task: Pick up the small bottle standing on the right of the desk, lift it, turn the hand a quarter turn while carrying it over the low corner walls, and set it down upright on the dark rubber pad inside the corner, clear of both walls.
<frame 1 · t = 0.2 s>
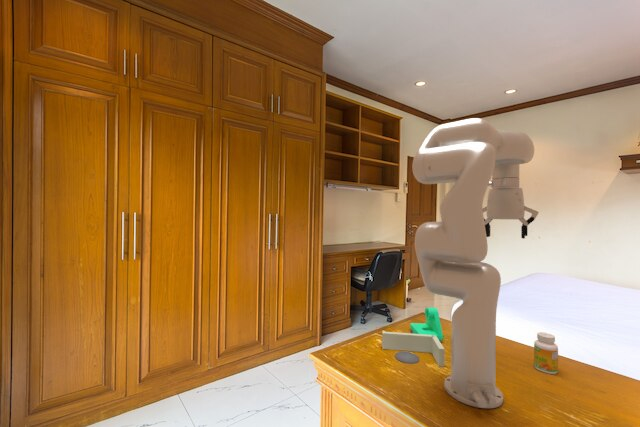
hand: (505, 237, 96), 36 cm above the table, tool pointing down, fingers open, 9 cm apart
camera mount: (425, 337, 107), on the table
supplement bottle: (545, 370, 84), on the table
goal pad: (407, 357, 89), on the table
corner walls: (410, 358, 89), on the table
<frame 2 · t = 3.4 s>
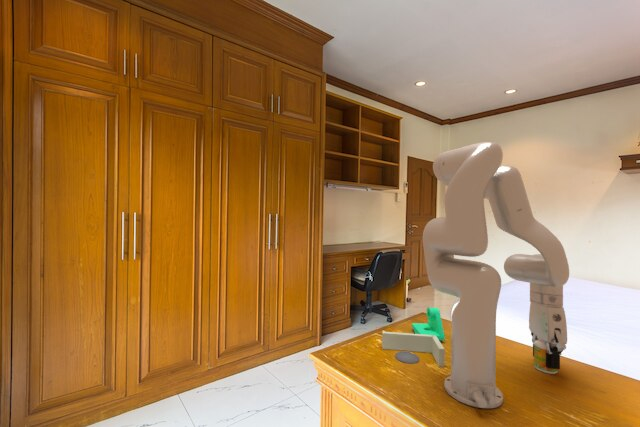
hand: (545, 362, 84), 2 cm above the table, tool pointing down, fingers closed on supplement bottle, 5 cm apart
supplement bottle: (545, 370, 84), on the table, touching gripper
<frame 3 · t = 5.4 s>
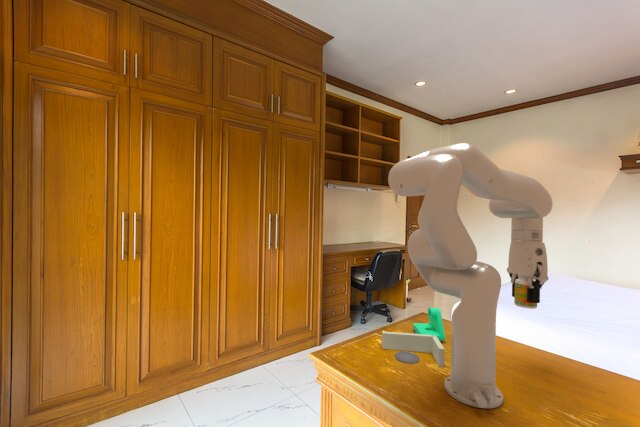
hand: (525, 299, 85), 19 cm above the table, tool pointing down, fingers closed on supplement bottle, 5 cm apart
supplement bottle: (525, 307, 85), point 17 cm above the table, touching gripper
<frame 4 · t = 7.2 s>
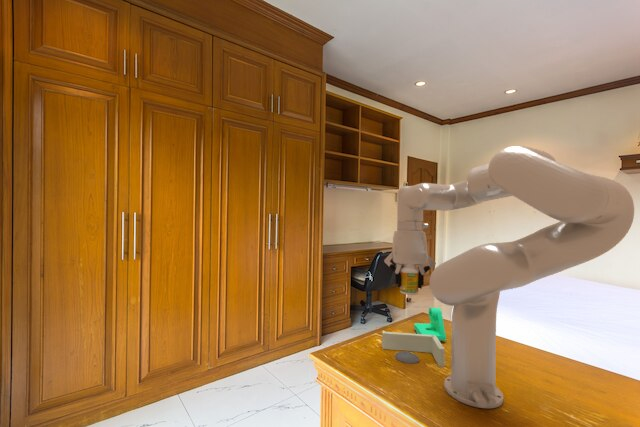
hand: (409, 286, 90), 21 cm above the table, tool pointing down, fingers closed on supplement bottle, 5 cm apart
supplement bottle: (408, 293, 90), point 19 cm above the table, touching gripper
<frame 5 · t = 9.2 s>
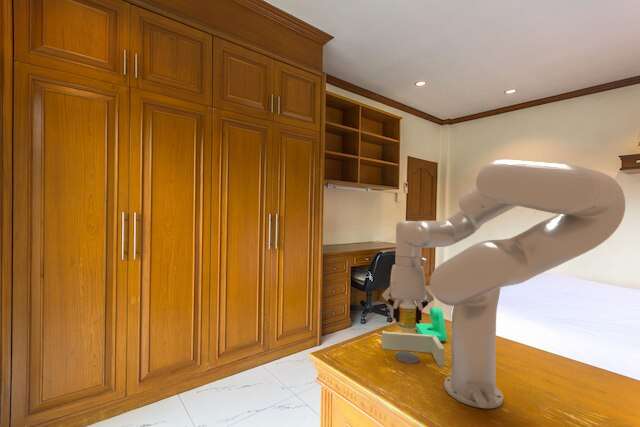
hand: (407, 321, 89), 11 cm above the table, tool pointing down, fingers closed on supplement bottle, 5 cm apart
supplement bottle: (406, 328, 90), point 9 cm above the table, touching gripper
when the fingers open (4 cm above the table, at t = 11.0 s): supplement bottle drops 2 cm, resting on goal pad.
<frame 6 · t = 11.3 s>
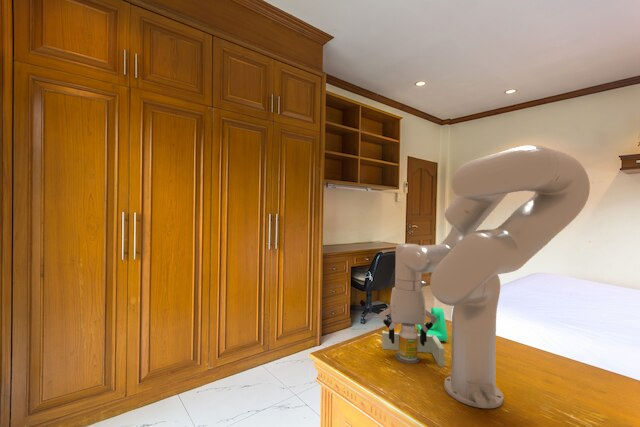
hand: (407, 342, 89), 5 cm above the table, tool pointing down, fingers open, 8 cm apart
supplement bottle: (407, 357, 89), resting on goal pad
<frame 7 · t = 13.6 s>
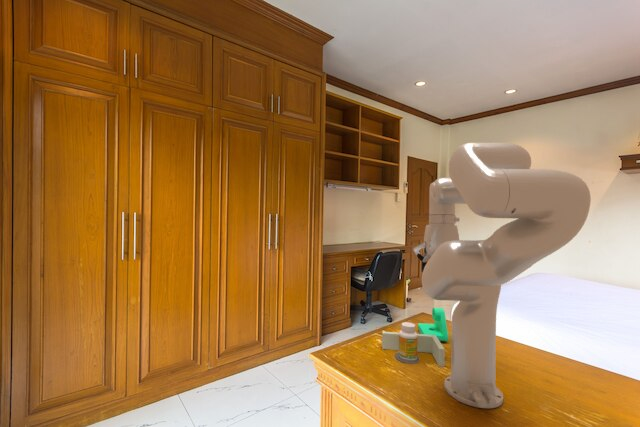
hand: (441, 275, 93), 24 cm above the table, tool pointing down, fingers open, 9 cm apart
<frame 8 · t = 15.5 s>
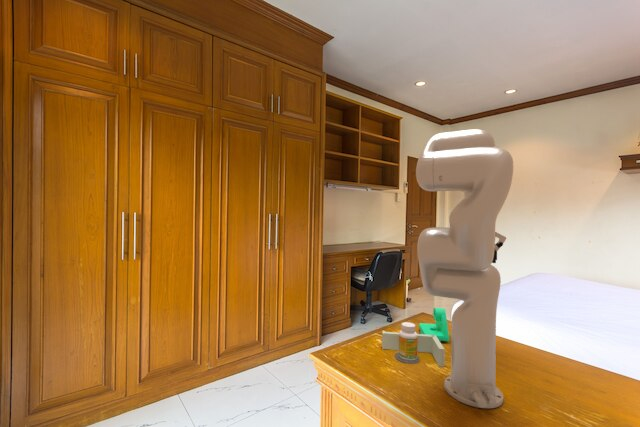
hand: (476, 261, 96), 28 cm above the table, tool pointing down, fingers open, 9 cm apart
at the end: supplement bottle 0.3 cm from the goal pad (horizontally); supplement bottle tilted 0°; supplement bottle touching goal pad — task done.
